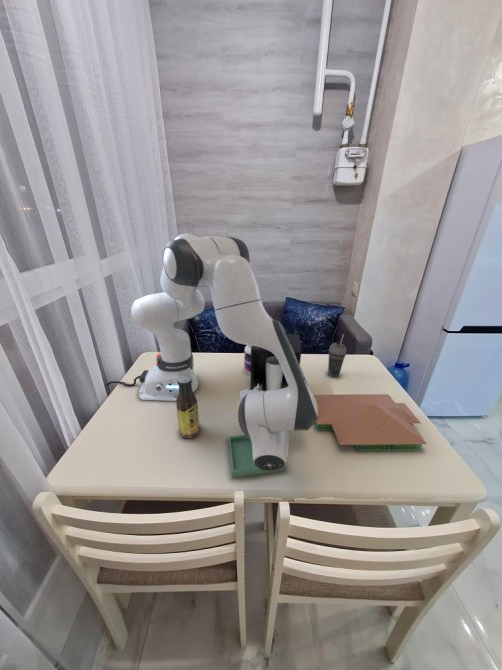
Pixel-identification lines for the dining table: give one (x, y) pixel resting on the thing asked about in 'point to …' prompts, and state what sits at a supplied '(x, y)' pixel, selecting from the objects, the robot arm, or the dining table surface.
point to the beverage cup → (336, 358)
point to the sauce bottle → (187, 408)
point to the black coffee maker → (262, 354)
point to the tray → (243, 457)
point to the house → (368, 420)
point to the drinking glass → (273, 373)
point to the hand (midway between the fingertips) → (274, 386)
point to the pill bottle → (247, 359)
